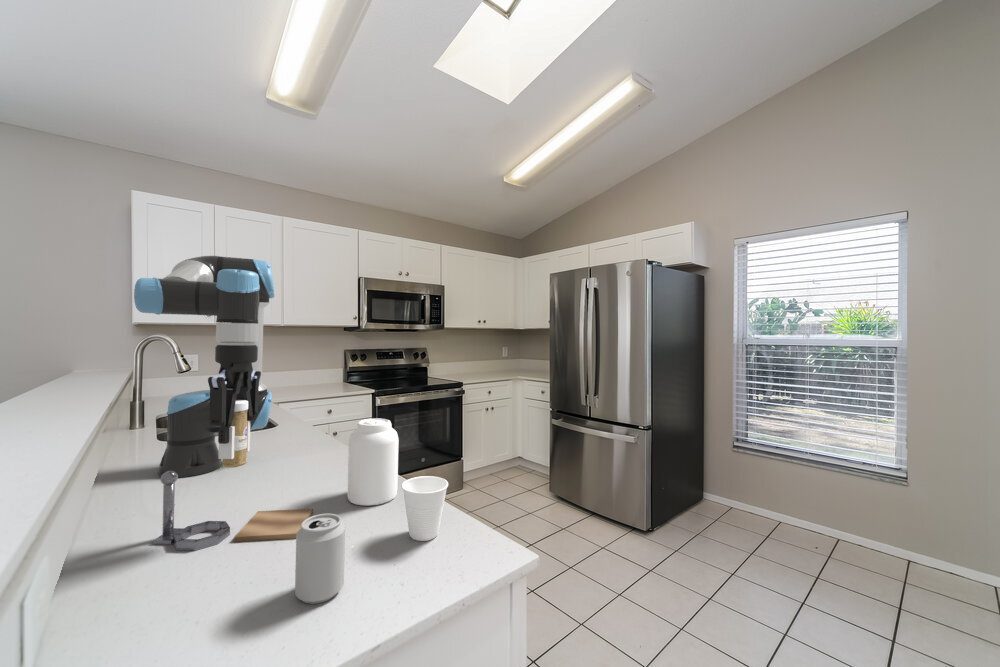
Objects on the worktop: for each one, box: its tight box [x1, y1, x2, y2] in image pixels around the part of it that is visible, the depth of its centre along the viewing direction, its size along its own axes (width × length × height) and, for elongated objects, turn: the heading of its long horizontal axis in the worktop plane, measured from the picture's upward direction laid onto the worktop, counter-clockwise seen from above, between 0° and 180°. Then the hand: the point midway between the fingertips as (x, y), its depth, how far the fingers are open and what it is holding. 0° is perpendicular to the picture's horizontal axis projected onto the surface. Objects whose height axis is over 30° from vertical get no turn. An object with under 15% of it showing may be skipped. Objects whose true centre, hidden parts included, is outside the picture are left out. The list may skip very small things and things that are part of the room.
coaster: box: [233, 508, 314, 543], centre depth 90 cm, size 12×12×1 cm
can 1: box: [294, 513, 346, 605], centre depth 68 cm, size 8×8×12 cm
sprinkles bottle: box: [221, 400, 248, 469], centre depth 86 cm, size 5×5×13 cm
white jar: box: [347, 417, 400, 507], centre depth 107 cm, size 12×12×20 cm
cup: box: [401, 475, 449, 542], centre depth 88 cm, size 10×10×11 cm
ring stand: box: [152, 471, 231, 552], centre depth 84 cm, size 9×13×14 cm
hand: (234, 454), depth 86 cm, fingers closed on sprinkles bottle, 4 cm apart
